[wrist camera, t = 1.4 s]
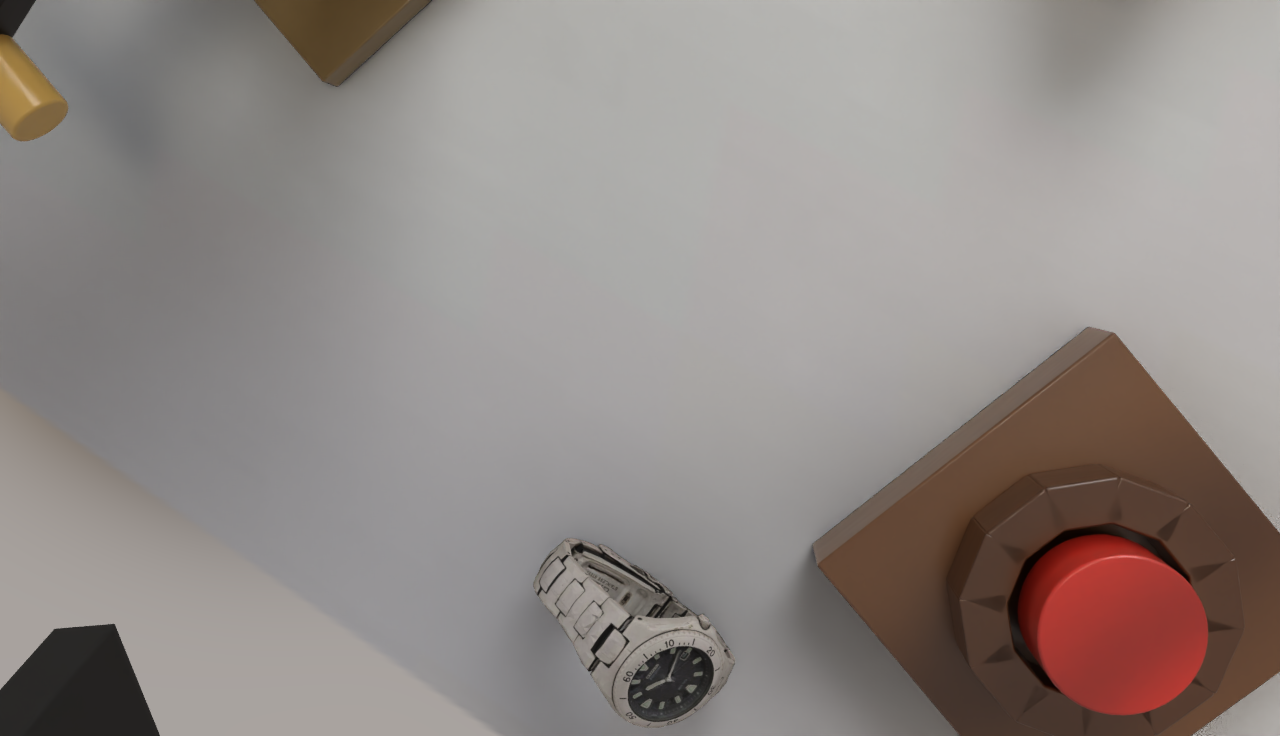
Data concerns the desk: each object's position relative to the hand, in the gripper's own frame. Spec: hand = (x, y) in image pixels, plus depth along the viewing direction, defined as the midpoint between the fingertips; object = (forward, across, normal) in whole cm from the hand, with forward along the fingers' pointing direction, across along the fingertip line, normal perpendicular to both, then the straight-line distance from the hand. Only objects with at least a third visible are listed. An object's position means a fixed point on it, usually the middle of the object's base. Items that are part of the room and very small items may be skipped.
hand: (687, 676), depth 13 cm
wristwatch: (+18, -4, -12) cm, 22 cm away
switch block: (+19, +8, -12) cm, 24 cm away
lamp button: (+15, +8, -11) cm, 20 cm away
